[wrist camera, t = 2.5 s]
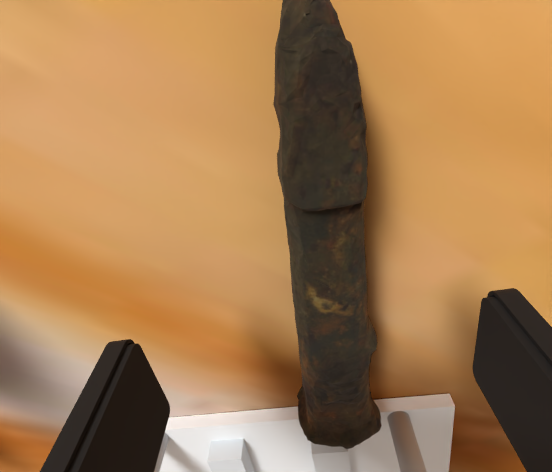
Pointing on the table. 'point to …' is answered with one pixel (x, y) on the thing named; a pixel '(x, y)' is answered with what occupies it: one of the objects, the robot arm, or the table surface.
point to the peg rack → (304, 454)
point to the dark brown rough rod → (325, 221)
